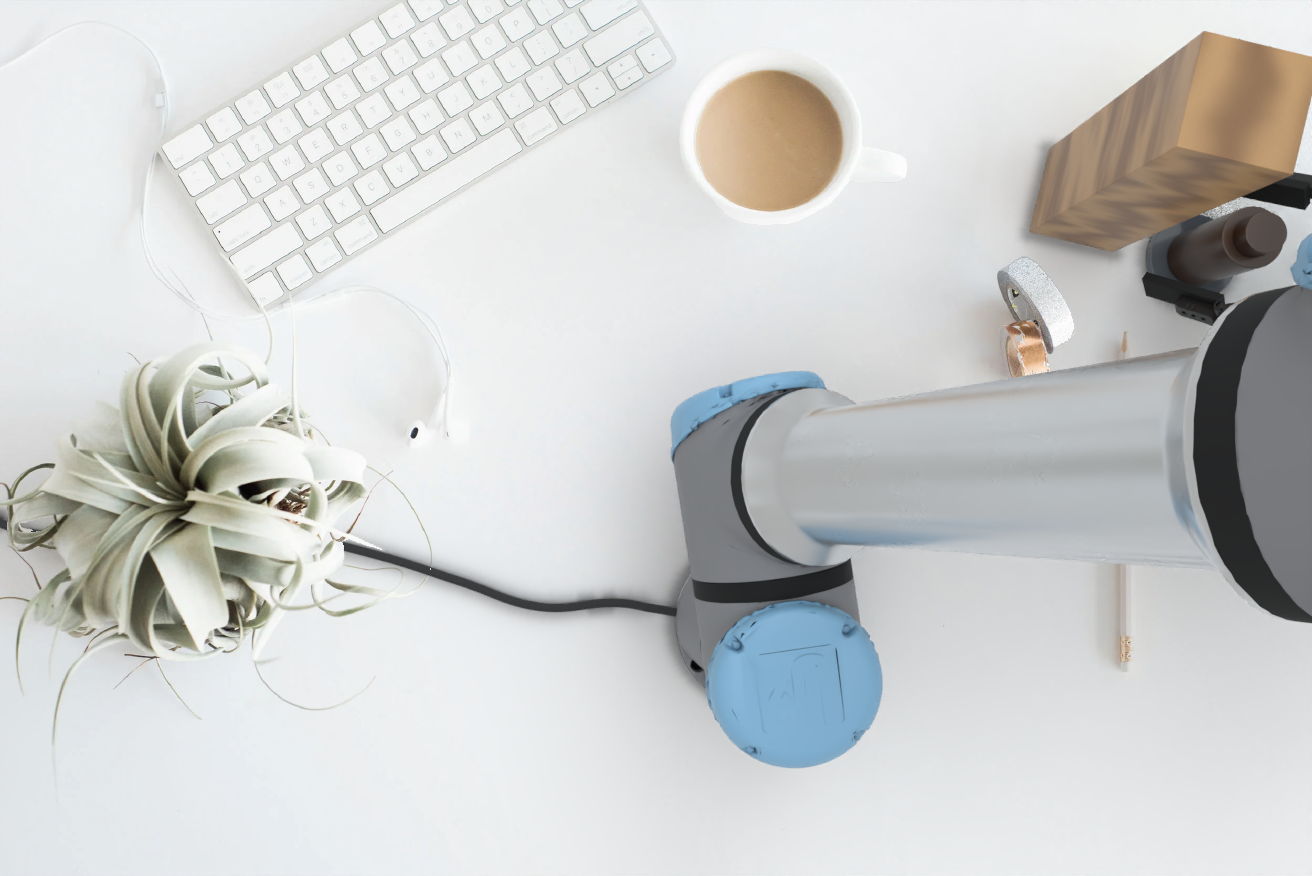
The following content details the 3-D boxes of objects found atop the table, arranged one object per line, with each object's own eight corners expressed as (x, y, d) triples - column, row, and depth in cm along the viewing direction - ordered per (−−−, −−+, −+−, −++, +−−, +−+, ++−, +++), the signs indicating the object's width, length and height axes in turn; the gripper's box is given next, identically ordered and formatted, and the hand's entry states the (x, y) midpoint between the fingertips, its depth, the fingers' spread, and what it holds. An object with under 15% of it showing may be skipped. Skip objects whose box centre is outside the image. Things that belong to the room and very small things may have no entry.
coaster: (1136, 291, 77) (1141, 289, 76) (1156, 207, 77) (1161, 205, 77) (1220, 311, 77) (1226, 310, 76) (1240, 228, 77) (1246, 225, 76)
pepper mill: (1160, 278, 76) (1228, 256, 67) (1174, 223, 77) (1242, 194, 68) (1216, 291, 76) (1290, 271, 67) (1229, 237, 76) (1305, 209, 68)
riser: (1028, 231, 77) (1176, 146, 55) (1049, 148, 77) (1204, 30, 55) (1112, 252, 77) (1293, 174, 55) (1132, 168, 77) (1321, 58, 55)
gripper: (1398, 464, 61) (1113, 357, 77) (1590, 212, 61) (1267, 157, 77) (1405, 417, 56) (1098, 313, 71) (1616, 141, 56) (1263, 98, 72)
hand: (1186, 232), depth 74 cm, fingers open, 11 cm apart
